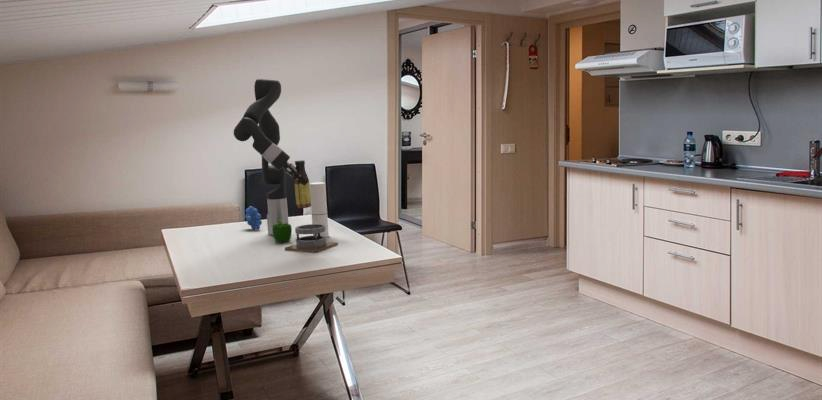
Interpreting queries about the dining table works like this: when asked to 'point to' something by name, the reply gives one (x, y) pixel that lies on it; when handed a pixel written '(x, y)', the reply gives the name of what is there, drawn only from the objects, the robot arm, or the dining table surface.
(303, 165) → the sauce bottle
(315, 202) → the cylindrical container
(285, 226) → the bell pepper
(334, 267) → the dining table surface
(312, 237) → the collar stand
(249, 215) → the grapes
